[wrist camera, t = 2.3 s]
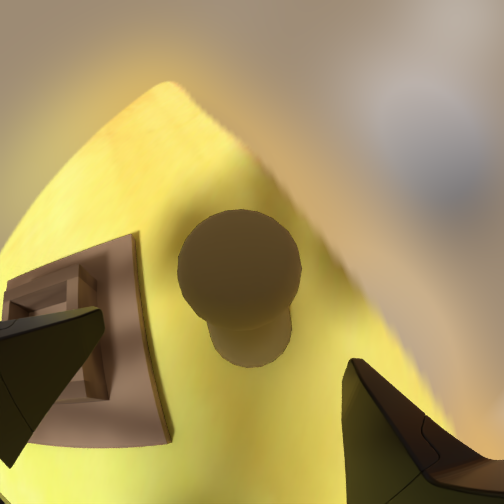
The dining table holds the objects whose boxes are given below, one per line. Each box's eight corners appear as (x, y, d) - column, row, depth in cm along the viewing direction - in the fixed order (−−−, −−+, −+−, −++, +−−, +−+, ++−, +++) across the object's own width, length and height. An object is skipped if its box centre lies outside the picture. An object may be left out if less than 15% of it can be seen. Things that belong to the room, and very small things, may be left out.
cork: (203, 299, 21) (154, 206, 11) (279, 282, 21) (288, 176, 12) (218, 375, 18) (164, 343, 8) (301, 355, 18) (342, 300, 9)
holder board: (171, 442, 15) (150, 449, 11) (18, 440, 13) (-9, 437, 9) (135, 239, 24) (117, 213, 21) (12, 284, 22) (-9, 268, 18)
